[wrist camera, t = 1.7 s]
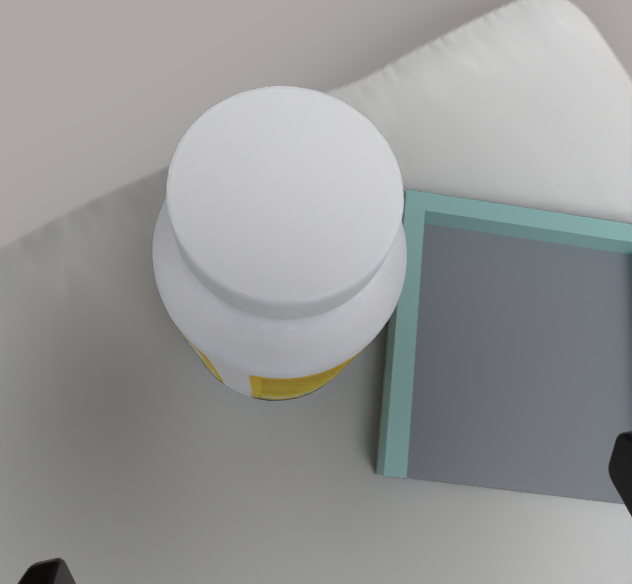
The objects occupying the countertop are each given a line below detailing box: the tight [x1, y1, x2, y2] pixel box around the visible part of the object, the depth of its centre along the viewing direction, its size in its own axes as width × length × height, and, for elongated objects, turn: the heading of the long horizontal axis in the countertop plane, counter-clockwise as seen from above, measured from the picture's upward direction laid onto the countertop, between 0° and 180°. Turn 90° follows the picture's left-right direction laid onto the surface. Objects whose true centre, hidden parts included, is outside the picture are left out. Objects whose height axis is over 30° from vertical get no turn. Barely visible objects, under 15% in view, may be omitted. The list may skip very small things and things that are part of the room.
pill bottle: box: [152, 86, 407, 401], centre depth 16 cm, size 6×6×12 cm
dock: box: [375, 189, 632, 504], centre depth 22 cm, size 11×11×2 cm
